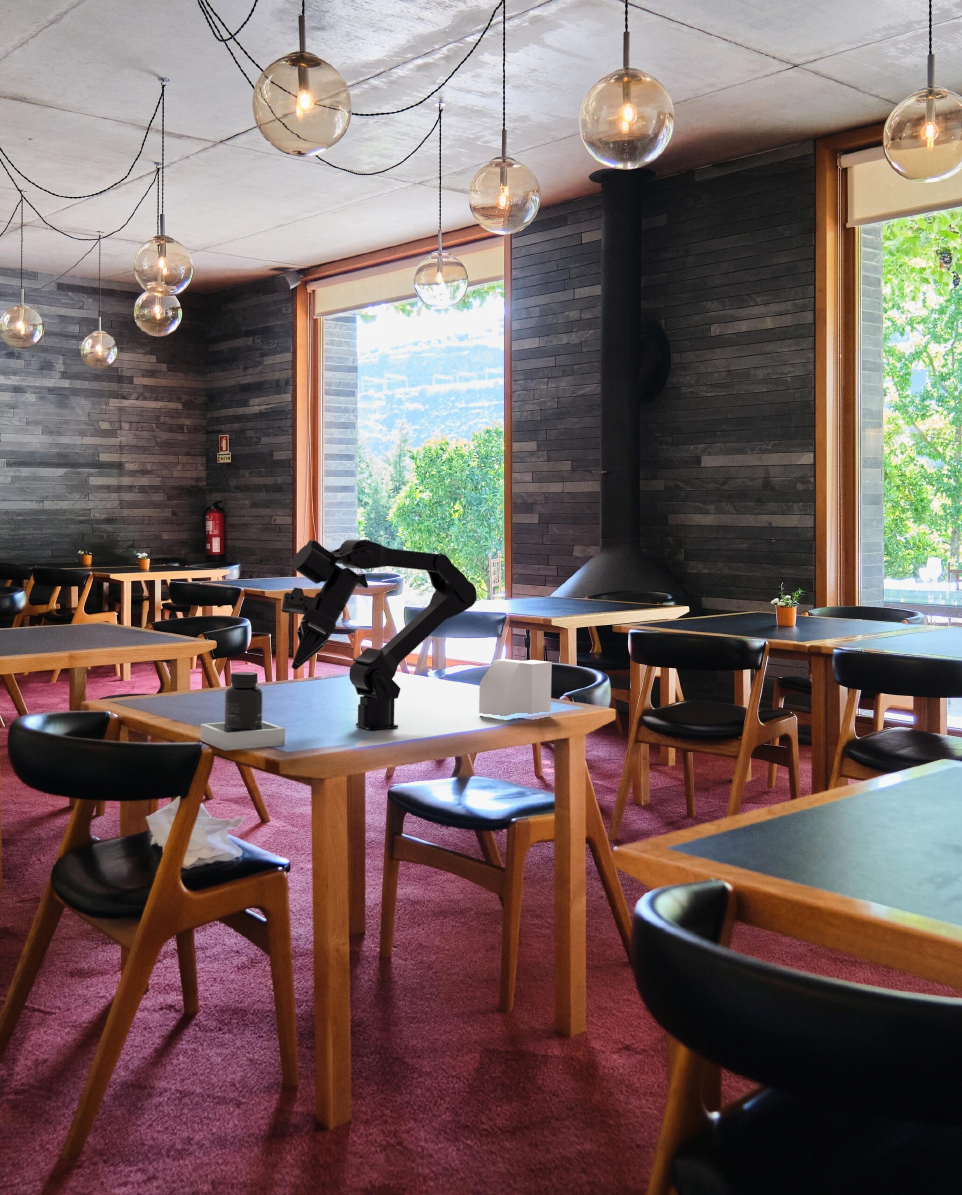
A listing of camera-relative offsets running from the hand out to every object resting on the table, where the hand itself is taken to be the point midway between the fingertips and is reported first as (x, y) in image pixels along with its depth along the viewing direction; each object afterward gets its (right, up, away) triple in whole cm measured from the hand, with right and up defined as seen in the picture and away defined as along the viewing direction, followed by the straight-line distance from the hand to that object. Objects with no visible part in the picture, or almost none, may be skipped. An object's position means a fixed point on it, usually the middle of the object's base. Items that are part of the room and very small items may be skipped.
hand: (294, 666), depth 217 cm
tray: (-8, -13, -9) cm, 18 cm away
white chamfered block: (+43, -13, +28) cm, 53 cm away
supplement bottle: (-8, -13, -9) cm, 17 cm away
